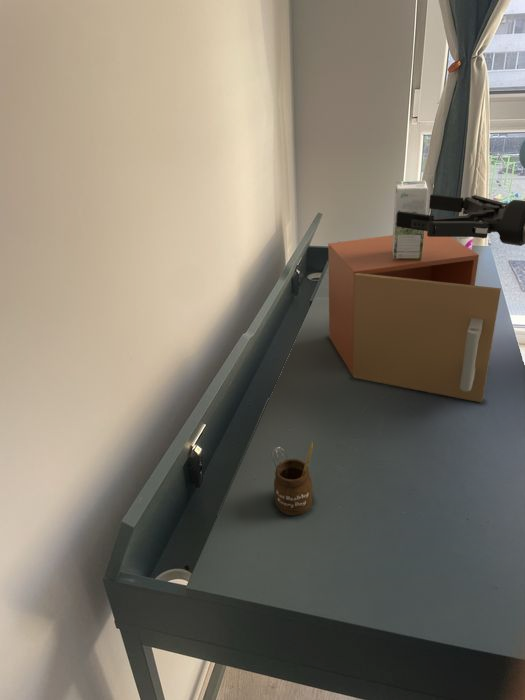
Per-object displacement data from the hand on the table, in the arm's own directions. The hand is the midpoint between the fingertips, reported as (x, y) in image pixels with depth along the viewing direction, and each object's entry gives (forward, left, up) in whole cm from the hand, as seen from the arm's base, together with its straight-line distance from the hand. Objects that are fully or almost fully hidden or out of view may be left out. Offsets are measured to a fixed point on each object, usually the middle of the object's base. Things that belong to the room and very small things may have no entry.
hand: (414, 209), depth 103 cm
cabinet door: (-3, +15, -33) cm, 37 cm away
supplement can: (-8, -46, -34) cm, 58 cm away
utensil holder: (+11, +49, -34) cm, 60 cm away
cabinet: (+3, -4, -33) cm, 34 cm away
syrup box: (+1, 0, -10) cm, 10 cm away
